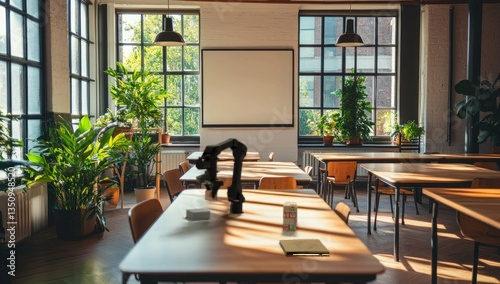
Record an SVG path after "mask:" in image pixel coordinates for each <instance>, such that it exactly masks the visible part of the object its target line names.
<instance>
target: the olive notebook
mask: <svg viewBox="0 0 500 284" xmlns="http://www.w3.org/2000/svg"><path fill="white" fill-rule="evenodd" d="M279 244H280V247H281V248H282V251H283V253H284V255H285V256H286V255H293V254H329V255H330V251H329V249H328V248H327V247H326V246H325V245H324V244H323V243H322V241H321V240H320V239H319V238H316V239H315V238H305V239H304V238H299V239H298V238H297V239H280V240H279Z"/></svg>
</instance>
